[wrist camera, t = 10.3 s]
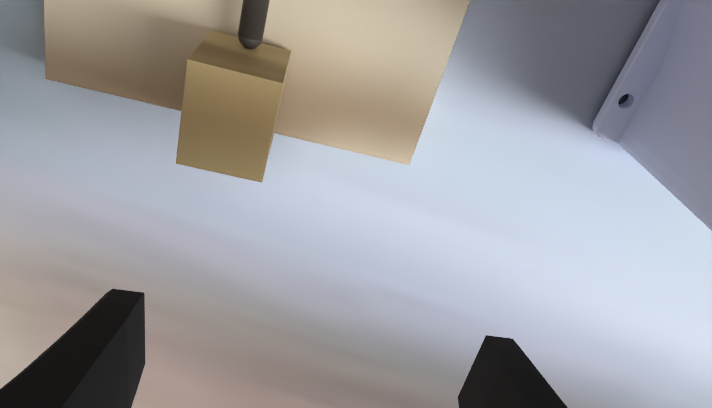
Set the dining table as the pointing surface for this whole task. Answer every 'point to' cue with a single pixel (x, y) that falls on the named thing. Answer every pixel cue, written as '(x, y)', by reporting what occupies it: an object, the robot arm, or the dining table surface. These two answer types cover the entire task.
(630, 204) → the dining table surface
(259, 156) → the block with dark rod
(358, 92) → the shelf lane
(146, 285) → the dining table surface
